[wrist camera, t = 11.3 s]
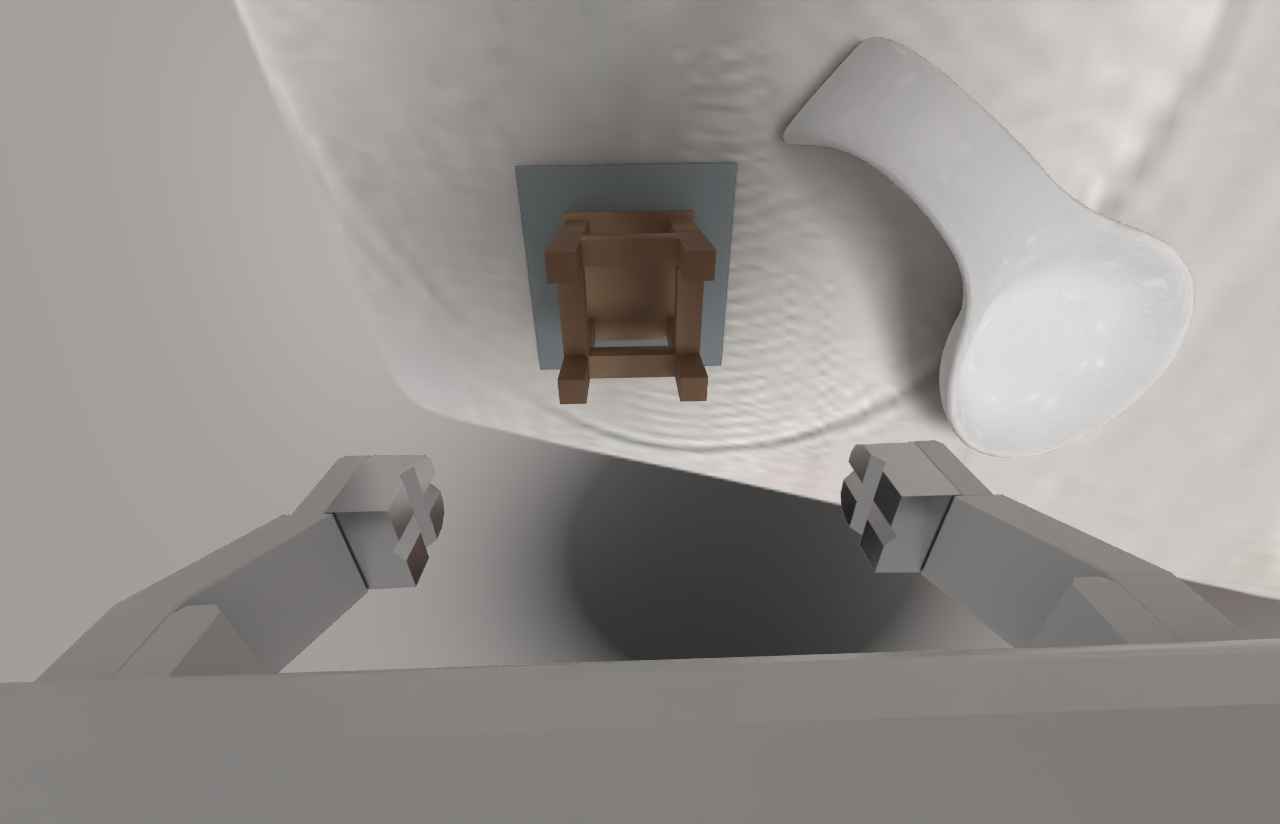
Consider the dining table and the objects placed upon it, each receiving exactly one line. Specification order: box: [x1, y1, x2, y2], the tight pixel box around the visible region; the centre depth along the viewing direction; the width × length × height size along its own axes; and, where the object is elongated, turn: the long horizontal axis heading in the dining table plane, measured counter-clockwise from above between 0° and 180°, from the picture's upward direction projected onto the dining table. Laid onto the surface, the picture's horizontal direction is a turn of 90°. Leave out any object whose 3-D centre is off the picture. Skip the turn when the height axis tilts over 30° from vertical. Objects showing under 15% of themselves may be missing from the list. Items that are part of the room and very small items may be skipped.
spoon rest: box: [783, 37, 1194, 458], centre depth 22 cm, size 24×12×7 cm, turn 50°
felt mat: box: [515, 163, 737, 370], centre depth 24 cm, size 10×10×1 cm
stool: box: [544, 210, 716, 404], centre depth 21 cm, size 6×6×8 cm
